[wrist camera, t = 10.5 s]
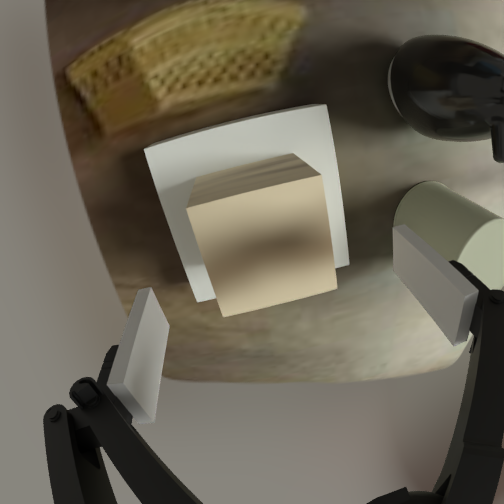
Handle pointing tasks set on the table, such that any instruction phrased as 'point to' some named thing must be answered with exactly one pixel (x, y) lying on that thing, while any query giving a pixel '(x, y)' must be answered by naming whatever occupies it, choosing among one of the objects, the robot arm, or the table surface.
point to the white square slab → (239, 153)
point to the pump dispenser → (450, 89)
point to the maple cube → (263, 233)
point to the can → (456, 229)
